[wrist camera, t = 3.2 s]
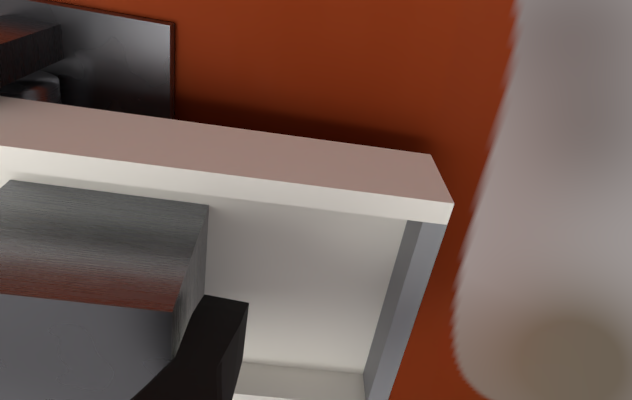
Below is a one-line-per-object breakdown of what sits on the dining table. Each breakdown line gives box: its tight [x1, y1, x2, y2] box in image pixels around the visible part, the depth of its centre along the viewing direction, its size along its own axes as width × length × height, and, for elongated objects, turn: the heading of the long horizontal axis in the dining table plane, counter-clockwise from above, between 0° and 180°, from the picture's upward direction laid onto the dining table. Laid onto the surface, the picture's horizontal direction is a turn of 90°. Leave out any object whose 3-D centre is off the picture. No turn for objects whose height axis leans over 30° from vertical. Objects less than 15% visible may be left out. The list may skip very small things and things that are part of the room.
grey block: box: [0, 180, 209, 400], centre depth 12 cm, size 5×5×4 cm
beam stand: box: [0, 0, 175, 120], centre depth 16 cm, size 8×12×4 cm, turn 172°
